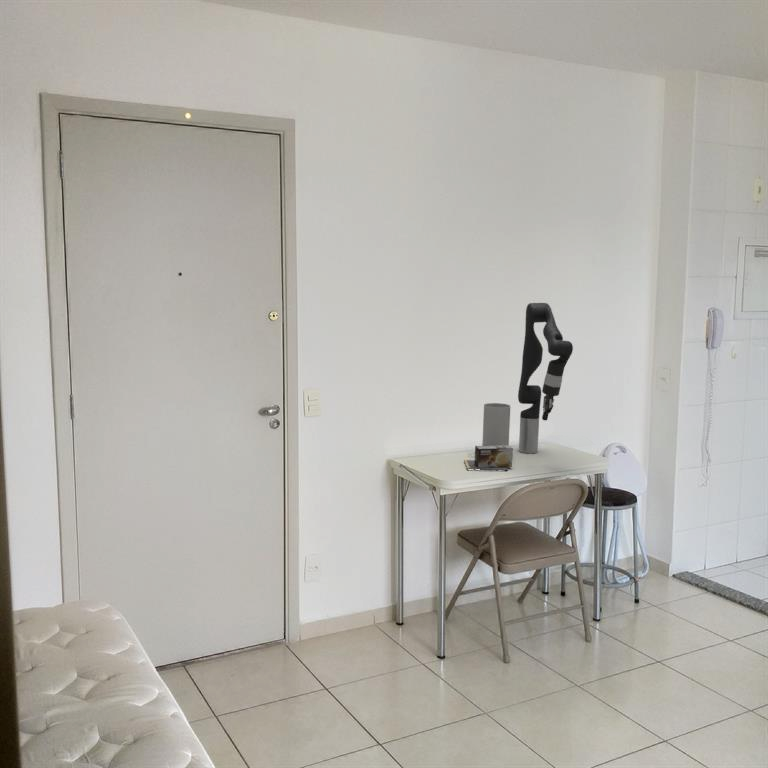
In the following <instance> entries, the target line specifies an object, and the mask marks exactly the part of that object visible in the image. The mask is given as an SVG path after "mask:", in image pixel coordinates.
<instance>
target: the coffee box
mask: <svg viewBox="0 0 768 768" xmlns="http://www.w3.org/2000/svg"><path fill="white" fill-rule="evenodd" d="M513 450H514V447H512V446H511V445H510V444H509V445H505V446H482V445H475V446H474V460H475V462H474V465H475V466H476V467H478V468H493V467H507V468H512V467H513V455H514V453H513V452H514V451H513Z"/></svg>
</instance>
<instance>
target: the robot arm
mask: <svg viewBox="0 0 768 768" xmlns="http://www.w3.org/2000/svg"><path fill="white" fill-rule="evenodd" d="M535 323H545V325H544V327H543V328H542V329H543V330H542V333H543V337H544V339H545V340H546V343H547V352H548V354H550V355H551V356H554V357H558V358H556V359H552V360H550V361H549V362H548V366H547V370H546V374H545V377H544V380H543V385H542V388H541V386H540V385H536V384H535V385H534V384H531V385H530V384H529V380H530V378H531V377H532V376H533V375H534V373H535V371H536V370H537V369H538V368H539V367H540V365H541V364H542V361H543V351H544V349H543V346H542V343H541V341H540V340H539V338H538V336H537V334H536V332H535ZM524 331H525V332H524V341H523V350H522V362H521V374H520V380H519V387H518V393H517V398H518V399H517V400H518V402H519V403H520V404H523V405H526V404H527V405H531V406H530V407H529V408H526V409H524V410H522V411H520V416H519V421H520V422H519V438H518V439H519V440H518V452H520V453H524V454H537V453H538V450H539V448H538V447H539V431H540V413H541V412H540V411H541V400H542V393H543V394H544V396H543V401H542V404H543V405H542V411H543V413H542V416H541V419H542V421H548V418H549V415H550V414H551V413H552V410H553V409H554V403H555V399H554V397H559V395H560V392H561V387H562V383H563V376H564V370H565V367H566V365H567V363H568V361H569V359H570V358H571V356H572V354H573V350H574V347H573V343H572V342H571V341H570V340H564V337H563V335H562V332H561V331H560V330H559V328H558V326H557V323H556V321H555V316H554V313H553V310H552V307H551V306H550V304H549V303H548V302H530V303H528V304H527V306H526V309H525V330H524Z"/></svg>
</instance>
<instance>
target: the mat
mask: <svg viewBox="0 0 768 768" xmlns="http://www.w3.org/2000/svg"><path fill="white" fill-rule="evenodd" d="M464 462H465V463H464ZM474 462H475V459H472V460H470V459H464V460H463V463H464V465H465V464H466V465H465V468H466V467H467V468H466V470H467V469H480V470H507V471H506V472H508V471H509V470H508V467H493V468H478V467H476V466H475V465H474Z"/></svg>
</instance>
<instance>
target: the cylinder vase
mask: <svg viewBox="0 0 768 768" xmlns="http://www.w3.org/2000/svg"><path fill="white" fill-rule="evenodd" d="M482 421H483V423H482V425H483V426H482V443H481V444H482V445H481V446H505V445H509V446H510V444H509V443H510V427H511V426H510V425H511V424H510V423H511V405H510V404H506V403H498V402H495V403H494V402H491V403H490V402H489V403H488V402H487V403H484V404H483V420H482Z"/></svg>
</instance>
